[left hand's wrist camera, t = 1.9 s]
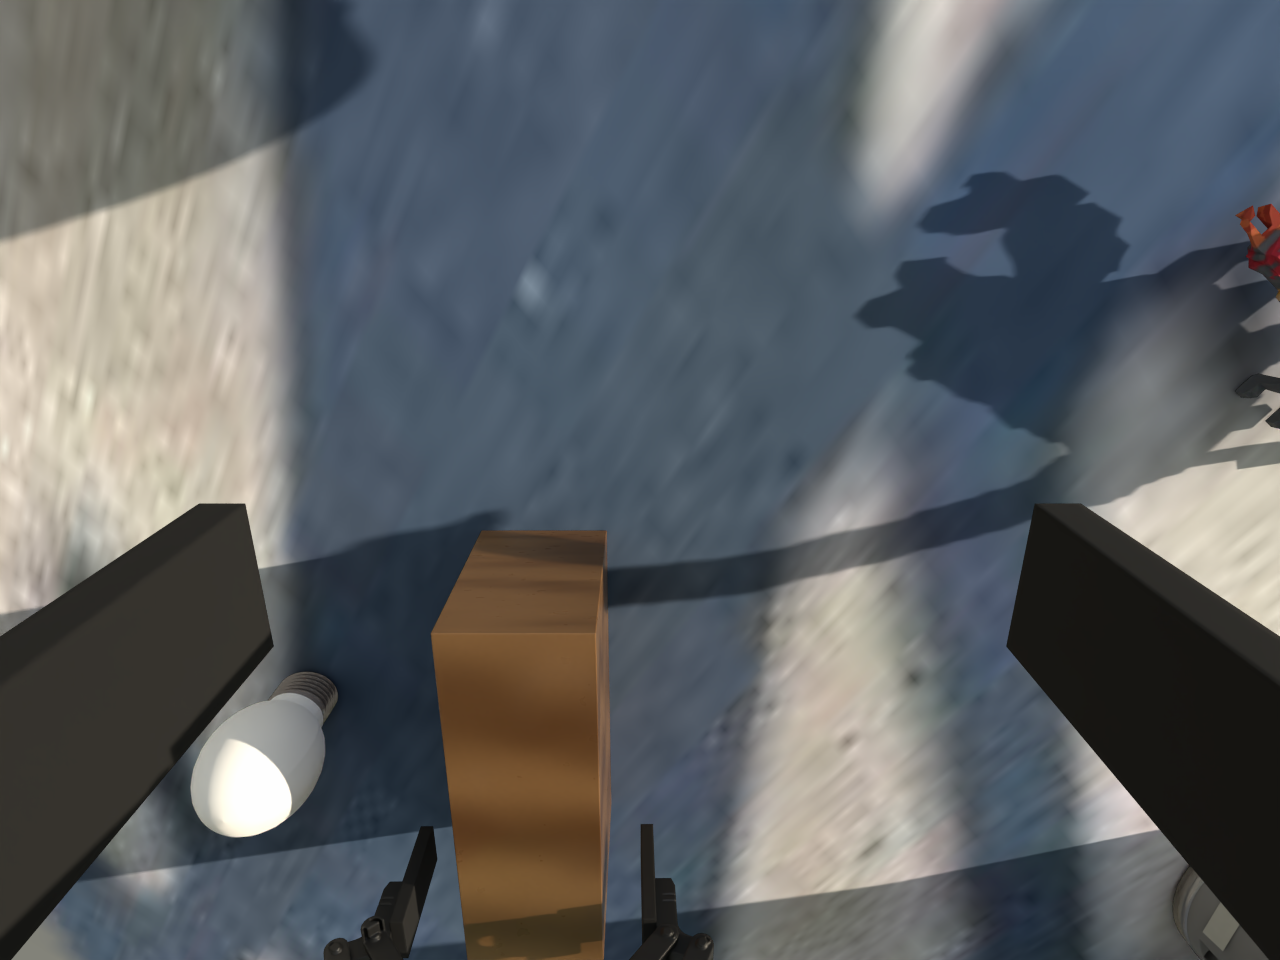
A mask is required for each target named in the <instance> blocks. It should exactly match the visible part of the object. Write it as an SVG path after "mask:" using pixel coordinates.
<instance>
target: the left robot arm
mask: <svg viewBox="0 0 1280 960" xmlns="http://www.w3.org/2000/svg"><path fill="white" fill-rule="evenodd" d="M273 647H274V645H273V640H272V635H271V630H270V625H269V620H268V615H267V610H266V605H265V600H264V595H263V590H262V585H261V580H260V575H259V570H258V565H257V560H256V555H255V550H254V545H253V540H252V535H251V530H250V525H249V520H248V515H247V510H246V505H245V504H198V505H196V506H195V507H193V508H192V509H190V510H189V511H187V512H186V513H184V514H183V515H181V516H180V517H178V518H177V519H175V520H174V521H172V522H171V523H169V524H168V525H166V526H165V527H163V528H162V529H160V530H159V531H157V532H156V533H154V534H153V535H151V536H150V537H148V538H147V539H145V540H144V541H142V542H141V543H139V544H138V545H136V546H135V547H133V548H132V549H130V550H129V551H127V552H126V553H124V554H123V555H121V556H120V557H118V558H117V559H116V560H114V561H113V562H111V563H110V564H108V565H107V566H105V567H104V568H102V569H101V570H99V571H98V572H96V573H95V574H93V575H92V576H90V577H89V578H87V579H86V580H84V581H83V582H81V583H80V584H78V585H77V586H75V587H74V588H72V589H71V590H69V591H68V592H66V593H65V594H63V595H62V596H60V597H59V598H57V599H56V600H54V601H53V602H51V603H50V604H48V605H47V606H45V607H44V608H42V609H41V610H39V611H38V612H36V613H35V614H33V615H32V616H30V617H29V618H27V619H26V620H24V621H23V622H21V623H20V624H18V625H17V626H15V627H14V628H12V629H11V630H9V631H8V632H6V633H5V634H3V635H2V636H0V960H11V959H12V958H13V957H14V956H15V954H16V953H17V952H18V951H19V950H20V949H21V947H22V946H23V945H24V944H25V943H26V941H27V940H28V939H29V938H30V937H31V935H32V934H33V933H34V932H35V931H36V929H37V928H38V927H39V926H40V925H41V924H42V922H43V921H44V920H45V919H46V918H47V916H48V915H49V914H50V913H51V912H52V910H53V909H54V908H55V907H56V906H57V904H58V903H59V902H60V901H61V900H62V898H63V897H64V896H65V895H66V894H67V892H68V891H69V890H70V889H71V888H72V887H73V885H74V884H75V883H76V882H77V881H78V879H79V878H80V877H81V876H82V875H83V873H84V872H85V871H86V870H87V869H88V867H89V866H90V865H91V864H92V863H93V861H94V860H95V859H96V858H97V857H98V855H99V854H100V853H101V852H102V851H103V850H104V848H105V847H106V846H107V845H108V844H109V842H110V841H111V840H112V839H113V838H114V836H115V835H116V834H117V833H118V832H119V830H120V829H121V828H122V827H123V826H124V824H125V823H126V822H127V821H128V820H129V818H130V817H131V816H132V815H133V814H134V813H135V811H136V810H137V809H138V808H139V807H140V805H141V804H142V803H143V802H144V801H145V799H146V798H147V797H148V796H149V795H150V793H151V792H152V791H153V790H154V789H155V787H156V786H157V785H158V784H159V783H160V781H161V780H162V779H163V778H164V777H165V776H166V774H167V773H168V772H169V771H170V770H171V768H172V767H173V766H174V765H175V764H176V762H177V761H178V760H179V759H180V758H181V756H182V755H183V754H184V753H185V752H186V750H187V749H188V748H189V747H190V746H191V744H192V743H193V742H194V741H195V740H196V738H197V737H198V736H199V735H200V734H201V733H202V731H203V730H204V729H205V728H206V727H207V725H208V724H209V723H210V722H211V721H212V719H213V718H214V717H215V716H216V715H217V713H218V712H219V711H220V710H221V709H222V707H223V706H224V705H225V704H226V703H227V701H228V700H229V699H230V698H231V697H232V696H233V694H234V693H235V692H236V691H237V690H238V688H239V687H240V686H241V685H242V684H243V682H244V681H245V680H246V679H247V678H248V676H249V675H250V674H251V673H252V672H253V670H254V669H255V668H256V667H257V666H258V664H259V663H260V662H261V661H262V660H263V659H264V657H265V656H266V655H267V654H268V653H269V651H270V650H271V649H272V648H273ZM1006 647H1007V648H1008V649H1009V650H1010V651H1011V653H1012V654H1013V655H1014V656H1015V657H1016V659H1017V660H1018V661H1019V662H1020V663H1021V664H1022V666H1023V667H1024V668H1025V669H1026V670H1027V672H1028V673H1029V674H1030V675H1031V676H1032V678H1033V679H1034V680H1035V681H1036V682H1037V684H1038V685H1039V686H1040V687H1041V688H1042V690H1043V691H1044V692H1045V693H1046V694H1047V696H1048V697H1049V698H1050V699H1051V700H1052V701H1053V703H1054V704H1055V705H1056V706H1057V707H1058V709H1059V710H1060V711H1061V712H1062V713H1063V715H1064V716H1065V717H1066V718H1067V719H1068V721H1069V722H1070V723H1071V724H1072V725H1073V727H1074V728H1075V729H1076V730H1077V731H1078V733H1079V734H1080V735H1081V736H1082V737H1083V738H1084V740H1085V741H1086V742H1087V743H1088V744H1089V746H1090V747H1091V748H1092V749H1093V750H1094V752H1095V753H1096V754H1097V755H1098V756H1099V758H1100V759H1101V760H1102V761H1103V762H1104V764H1105V765H1106V766H1107V767H1108V768H1109V770H1110V771H1111V772H1112V773H1113V774H1114V776H1115V777H1116V778H1117V779H1118V780H1119V781H1120V783H1121V784H1122V785H1123V786H1124V787H1125V789H1126V790H1127V791H1128V792H1129V793H1130V795H1131V796H1132V797H1133V798H1134V799H1135V801H1136V802H1137V803H1138V804H1139V805H1140V807H1141V808H1142V809H1143V810H1144V811H1145V813H1146V814H1147V815H1148V816H1149V817H1150V818H1151V820H1152V821H1153V822H1154V823H1155V824H1156V826H1157V827H1158V828H1159V829H1160V830H1161V832H1162V833H1163V834H1164V835H1165V836H1166V838H1167V839H1168V840H1169V841H1170V842H1171V844H1172V845H1173V846H1174V847H1175V848H1176V850H1177V851H1178V852H1179V853H1180V854H1181V855H1182V857H1183V858H1184V859H1185V860H1186V861H1187V863H1188V864H1189V865H1190V866H1191V867H1192V869H1193V870H1194V871H1195V872H1196V873H1197V875H1198V876H1199V877H1200V878H1201V879H1202V881H1203V882H1204V883H1205V884H1206V885H1207V887H1208V888H1209V889H1210V890H1211V891H1212V892H1213V894H1214V895H1215V896H1216V897H1217V898H1218V900H1219V901H1220V902H1221V903H1222V904H1223V906H1224V907H1225V908H1226V909H1227V910H1228V912H1229V913H1230V914H1231V915H1232V916H1233V918H1234V919H1235V920H1236V921H1237V922H1238V924H1239V925H1240V926H1241V927H1242V928H1243V929H1244V931H1245V932H1246V933H1247V934H1248V935H1249V937H1250V938H1251V939H1252V940H1253V941H1254V943H1255V944H1256V945H1257V946H1258V947H1259V949H1260V950H1261V951H1262V952H1263V953H1264V955H1265V956H1266V957H1267V958H1268V959H1269V960H1280V636H1278V635H1277V634H1275V633H1274V632H1272V631H1271V630H1269V629H1268V628H1266V627H1265V626H1263V625H1262V624H1260V623H1259V622H1257V621H1256V620H1254V619H1253V618H1251V617H1250V616H1248V615H1247V614H1245V613H1244V612H1242V611H1241V610H1239V609H1238V608H1236V607H1235V606H1233V605H1232V604H1230V603H1229V602H1227V601H1226V600H1224V599H1223V598H1221V597H1220V596H1218V595H1217V594H1215V593H1214V592H1212V591H1211V590H1209V589H1208V588H1206V587H1205V586H1203V585H1202V584H1200V583H1199V582H1197V581H1196V580H1194V579H1193V578H1191V577H1190V576H1188V575H1187V574H1185V573H1184V572H1182V571H1181V570H1179V569H1178V568H1176V567H1175V566H1173V565H1172V564H1170V563H1169V562H1167V561H1166V560H1164V559H1163V558H1162V557H1160V556H1159V555H1157V554H1156V553H1154V552H1153V551H1151V550H1150V549H1148V548H1147V547H1145V546H1144V545H1142V544H1141V543H1139V542H1138V541H1136V540H1135V539H1133V538H1132V537H1130V536H1129V535H1127V534H1126V533H1124V532H1123V531H1121V530H1120V529H1118V528H1117V527H1115V526H1114V525H1112V524H1111V523H1109V522H1108V521H1106V520H1105V519H1103V518H1102V517H1100V516H1099V515H1097V514H1096V513H1094V512H1093V511H1091V510H1090V509H1088V508H1087V507H1085V506H1084V505H1082V504H1035V505H1034V510H1033V515H1032V520H1031V525H1030V530H1029V535H1028V540H1027V545H1026V550H1025V555H1024V560H1023V565H1022V570H1021V575H1020V580H1019V585H1018V590H1017V595H1016V600H1015V605H1014V610H1013V615H1012V620H1011V625H1010V630H1009V635H1008V640H1007V645H1006Z"/></svg>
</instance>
